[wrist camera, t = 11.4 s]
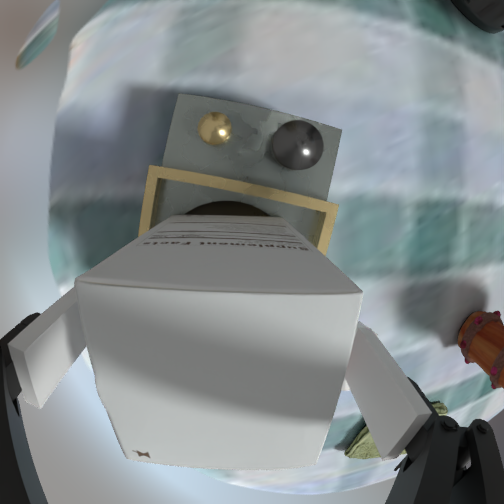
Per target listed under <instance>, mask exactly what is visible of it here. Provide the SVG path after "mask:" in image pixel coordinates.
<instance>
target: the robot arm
mask: <svg viewBox="0 0 504 504" xmlns="http://www.w3.org/2000/svg"><path fill="white" fill-rule="evenodd" d="M451 1H452V2H453V3H454V4H455V5H456V7H457V8H458V9H459V10H460V11H461V12H462V13H463V14H464V15H465V16H466V17H467V18H468V19H469V20H470V21H471V22H473V23H474V24H475V25H476V26H478V27H479V28H481V29H482V30H484V31H486V32H488V33H493V34H494V33H498V32H500V31H503V30H504V0H451ZM86 346H87V345H86V341H85V337H84V332H83V328H82V323H81V319H80V314H79V309H78V303H77V298H76V292H75V287H73V288H72V289H71V290H70V291H68V292H67V293H66V294H65V295H63V296H62V297H61V298H60V299H59V300H57V301H56V302H55V303H54V304H53V305H51V306H50V307H49V308H48V309H47V310H46V311H44V312H43V313H42V314H40V313H34V314H32V315H29V316H27V317H26V318H25V319H24V320H22V321H21V323H19V324H18V325H16V326H15V328H13V329H12V330H11V331H9V332H8V333H7V334H6V335H5V336H4V337H3V338H1V339H0V504H48V502H47V500H46V497H45V494H44V492H43V489H42V486H41V484H40V481H39V478H38V475H37V472H36V469H35V466H34V463H33V460H32V457H31V453H30V449H29V445H28V442H27V438H26V434H25V429H24V425H23V420H22V415H21V410H20V404H19V401H18V398H17V396H18V395H19V394H20V392H21V391H22V393H23V396H24V399H25V401H26V402H28V403H29V404H31V405H33V406H35V407H37V408H39V409H41V408H42V407H43V405H44V404H45V402H46V401H47V399H48V398H49V396H50V395H51V394H52V392H53V391H54V389H55V388H56V386H57V385H58V384H59V382H60V381H61V379H62V378H63V377H64V375H65V374H66V373H67V371H68V370H69V368H70V367H71V366H72V364H73V363H74V362H75V360H76V359H77V358H78V356H79V355H80V354H81V352H82V351H83V350H84V348H85V347H86ZM345 379H346V381H347V383H348V386H349V388H350V390H351V392H352V394H353V396H354V398H355V401H356V403H357V405H358V407H359V409H360V411H361V414H362V416H363V418H364V420H365V422H366V425H367V427H368V429H369V431H370V434H371V436H372V438H373V440H374V442H375V445H376V447H377V449H378V452H379V454H380V456H381V458H382V460H388V459H394V458H397V457H398V456H399V455H400V454H401V453H402V451H403V450H404V449H405V451H406V453H407V456H406V457H405V458H404V459H403V460H402V461H401V462H400V463H399V465H398V466H397V467H396V468H395V469H394V471H397V469H398V468H400V470H399V472H398V475H397V477H396V480H395V482H394V485H393V487H392V490H391V492H390V494H389V496H388V499H387V500H386V503H385V504H504V469H503V465H502V461H501V457H500V453H499V449H498V446H497V443H496V439H495V436H494V433H493V430H492V428H491V426H490V425H489V424H488V422H486V421H485V420H481V419H475V420H473V422H472V423H471V424H470V426H469V427H459V425H458V423H457V422H456V421H455V420H454V419H453V418H451V417H449V416H445V415H441V416H439V414H438V413H437V411H436V410H435V409H434V407H433V406H432V404H431V403H430V402H429V400H428V399H427V398H425V397H426V396H425V395H424V393H423V392H421V391H422V390H421V389H420V388H419V386H418V385H417V384H416V383H415V382H414V381H413V380H411V379H410V378H409V377H406V375H405V374H404V372H403V371H402V370H401V368H400V367H399V366H398V364H397V363H396V361H395V360H394V359H393V357H392V356H391V355H390V353H389V352H388V351H387V349H386V348H385V347H384V345H383V344H382V343H381V341H380V340H379V339H378V337H377V336H376V335H375V333H374V332H373V331H372V330H371V329H370V328H361V327H359V328H358V330H357V333H356V335H355V337H354V341H353V346H352V350H351V355H350V359H349V363H348V367H347V371H346V374H345ZM470 460H471V466H470V467H469V468H468V469H466V465H467V464H468V462H469V461H470Z"/></svg>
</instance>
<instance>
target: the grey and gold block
mask: <svg viewBox="0 0 504 504" xmlns="http://www.w3.org/2000/svg"><path fill="white" fill-rule="evenodd" d="M341 133H342V130H341V129H338V128H335V127H332V126H329V125H325V124H322V123H319V122H316V121H312V120H309V119H305V118H302V117H298V116H294V115H290V114H286V113H283V112H279V111H274V110H270V109H266V108H262V107H257V106H252V105H248V104H243V103H238V102H232V101H227V100H221V99H215V98H209V97H203V96H196V95H188V94H180V93H179V94H178V98H177V102H176V105H175V109H174V113H173V117H172V121H171V125H170V130H169V134H168V138H167V143H166V148H165V152H164V157H163V162H162V167H161V166H155V165H149V170H148V175H147V181H146V186H145V192H144V198H143V205H142V211H141V218H140V226H139V234H138V237H139V236H141V235H142V234H144V233H145V232H147V231H149V230H150V229H152V228H153V227H155V226H156V225H158V224H159V223H161V222H162V221H164V220H166V219H167V218H169V217H170V216H172V215H226V216H261V217H281V218H284V219H285V220H286V221H287V222H288V223H289V224H290V225H291V226H293V227H294V228H295V229H296V230H297V231H298V232H299V233H300V234H302V235H303V236H304V237H305V238H306V239H307V240H308V241H309V242H310V243H311V244H312V245H314V246H315V247H316V248H317V249H318V250H319V251H320V252H321V253H322V254H323V255H325V256H326V252H327V249H328V245H329V241H330V238H331V234H332V230H333V226H334V223H335V219H336V215H337V211H338V207H339V205H338V204H335V203H331V202H328V201H326V200H327V196H328V192H329V188H330V183H331V179H332V175H333V170H334V166H335V161H336V156H337V152H338V147H339V142H340V137H341Z"/></svg>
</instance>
